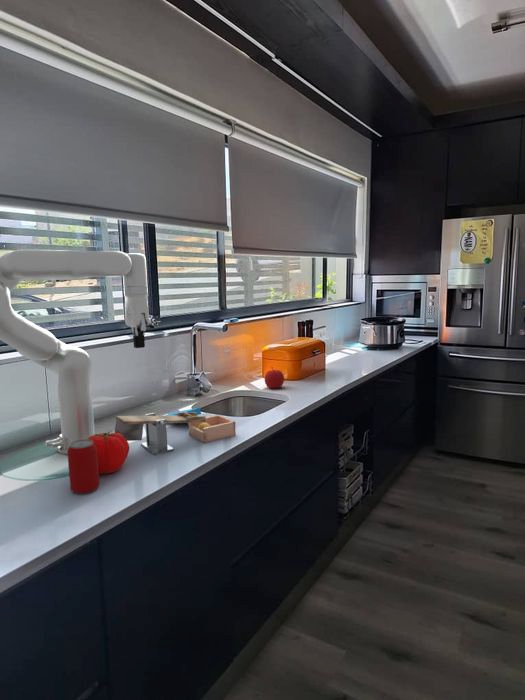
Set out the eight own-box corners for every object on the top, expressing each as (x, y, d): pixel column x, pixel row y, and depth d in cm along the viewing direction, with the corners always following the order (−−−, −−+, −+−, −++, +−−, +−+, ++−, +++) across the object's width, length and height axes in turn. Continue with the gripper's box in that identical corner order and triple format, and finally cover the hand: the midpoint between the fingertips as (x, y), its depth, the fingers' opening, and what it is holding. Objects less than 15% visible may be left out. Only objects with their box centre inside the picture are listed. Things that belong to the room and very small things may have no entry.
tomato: (99, 484, 120) (96, 444, 119) (71, 473, 127) (67, 435, 126) (140, 466, 131) (138, 429, 129) (112, 457, 138) (109, 422, 136)
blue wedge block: (163, 436, 171) (199, 430, 160) (159, 417, 171) (194, 410, 161) (177, 430, 176) (212, 425, 166) (172, 412, 176) (207, 405, 166)
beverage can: (103, 483, 121) (99, 438, 119) (94, 495, 114) (91, 447, 112) (76, 484, 120) (72, 438, 119) (66, 496, 114) (62, 448, 112)
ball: (211, 422, 153) (214, 432, 155) (205, 419, 157) (208, 429, 158) (200, 427, 151) (203, 438, 153) (194, 424, 155) (198, 435, 156)
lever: (122, 441, 135) (124, 417, 135) (114, 435, 141) (116, 412, 140) (203, 437, 151) (205, 416, 150) (193, 432, 156) (195, 411, 156)
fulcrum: (155, 455, 139) (153, 422, 138) (141, 444, 148) (139, 414, 147) (173, 450, 143) (172, 419, 141) (158, 440, 152) (157, 411, 150)
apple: (273, 391, 215) (272, 369, 214) (260, 387, 222) (260, 367, 221) (288, 387, 221) (287, 366, 220) (275, 384, 228) (275, 364, 226)
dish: (204, 442, 149) (204, 428, 148) (189, 434, 158) (188, 421, 157) (235, 434, 156) (235, 421, 155) (219, 427, 164) (218, 414, 164)
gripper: (116, 292, 158) (120, 346, 161) (133, 292, 146) (136, 351, 149) (138, 291, 162) (141, 344, 165) (155, 291, 150) (159, 348, 153)
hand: (139, 347), depth 157 cm, fingers closed
